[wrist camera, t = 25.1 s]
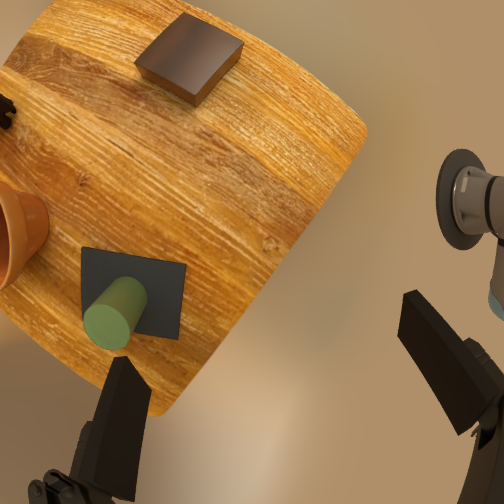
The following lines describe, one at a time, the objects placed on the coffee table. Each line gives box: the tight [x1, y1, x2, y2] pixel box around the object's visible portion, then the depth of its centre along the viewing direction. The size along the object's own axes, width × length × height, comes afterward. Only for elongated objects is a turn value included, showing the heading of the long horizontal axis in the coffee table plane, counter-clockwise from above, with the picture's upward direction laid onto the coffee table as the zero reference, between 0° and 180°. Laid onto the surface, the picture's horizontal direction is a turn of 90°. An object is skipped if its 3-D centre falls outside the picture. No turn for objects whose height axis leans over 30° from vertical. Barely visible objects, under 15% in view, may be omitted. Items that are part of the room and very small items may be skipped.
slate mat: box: [81, 247, 186, 340], centre depth 37 cm, size 16×12×1 cm
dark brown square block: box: [134, 12, 244, 107], centre depth 28 cm, size 10×10×5 cm
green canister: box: [83, 276, 147, 350], centre depth 31 cm, size 6×6×10 cm
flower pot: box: [0, 181, 49, 291], centre depth 26 cm, size 14×14×13 cm
